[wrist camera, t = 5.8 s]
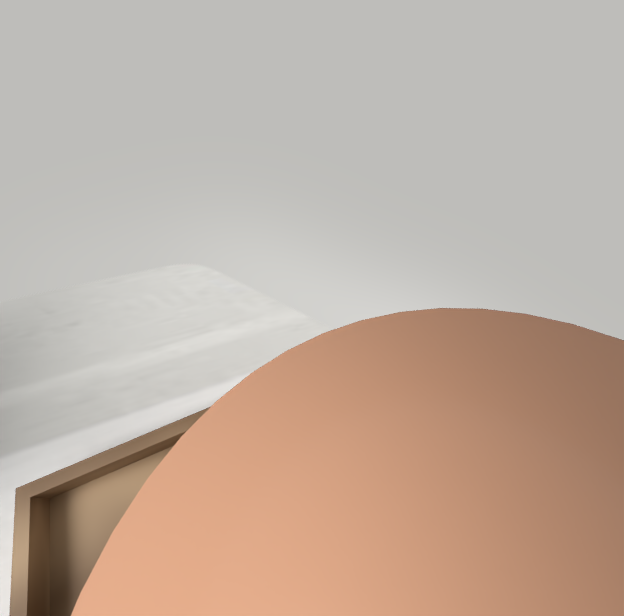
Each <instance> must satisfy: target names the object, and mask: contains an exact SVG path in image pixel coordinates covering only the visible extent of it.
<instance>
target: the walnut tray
mask: <svg viewBox="0 0 624 616" xmlns="http://www.w3.org/2000/svg"><path fill="white" fill-rule="evenodd" d="M209 408H210V407H209ZM209 408H206V409H204V410H202V411H199V412H197V413H195V414H192V415H190V416H187V417H185V418H183V419H180V420H178V421H175V422H173V423H171V424H168V425H166V426H164V427H161V428H159V429H156V430H154V431H152V432H149V433H147V434H145V435H142V436H140V437H137V438H135V439H133V440H130V441H128V442H125V443H123V444H121V445H118V446H116V447H114V448H111V449H109V450H106V451H104V452H102V453H99V454H97V455H95V456H92V457H90V458H87V459H85V460H83V461H80V462H78V463H75V464H73V465H71V466H68V467H66V468H64V469H61V470H59V471H56V472H54V473H52V474H49V475H47V476H45V477H42V478H40V479H37V480H35V481H33V482H30V483H28V484H25V485H23V486H21V487H18V488H16V495H15V515H14V535H13V555H12V575H11V596H10V616H71V614H72V612H73V609H74V607H75V605H76V602H77V600H78V598H79V595H80V593H81V591H82V589H83V587H84V585H85V583H86V582H87V580H88V578H89V576H90V574H91V572H92V570H93V568H94V566H95V564H96V563H97V561H98V559H99V557H100V555H101V553H102V551H103V549H104V547H105V546H106V544H107V542H108V540H109V538H110V536H111V534H112V532H113V531H114V529H115V527H116V526H117V524H118V523H119V521H120V520H121V518H122V517H123V515H124V514H125V512H126V511H127V509H128V508H129V506H130V504H131V503H132V501H133V500H134V498H135V497H136V495H137V494H138V492H139V491H140V489H141V488H142V486H143V485H144V483H145V482H146V480H147V479H148V477H149V476H150V475H151V474H152V472H153V471H154V470H155V469H156V467H157V466H158V465H159V464H160V462H161V461H162V460H163V459H164V457H165V456H166V455H167V454H168V452H169V451H170V450H171V449H172V448H173V446H174V445H175V444H176V443H177V441H178V440H179V439H180V438H181V436H182V435H183V434H184V433H185V432H186V431H187V430H188V429H189V428H190V427H191V426H192V425H193V424H194V423H195V422H196V421H197V420H198V419H199V418H200V417H201V416H202V415H203V414H204V413H205V412H206V411H207V410H208V409H209Z"/></svg>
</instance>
